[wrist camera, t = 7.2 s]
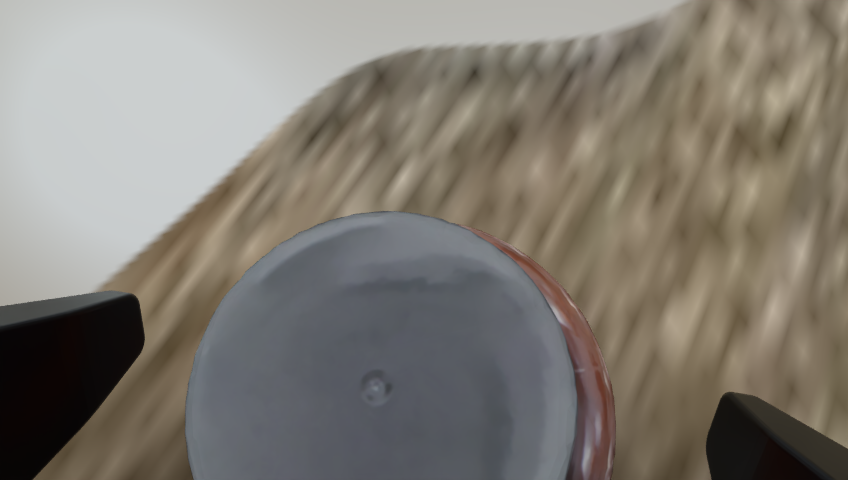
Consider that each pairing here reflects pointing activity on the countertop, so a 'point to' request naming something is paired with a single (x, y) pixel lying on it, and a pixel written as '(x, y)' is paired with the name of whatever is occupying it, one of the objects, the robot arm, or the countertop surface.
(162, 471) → the countertop surface
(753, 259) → the countertop surface
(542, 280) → the supplement bottle
